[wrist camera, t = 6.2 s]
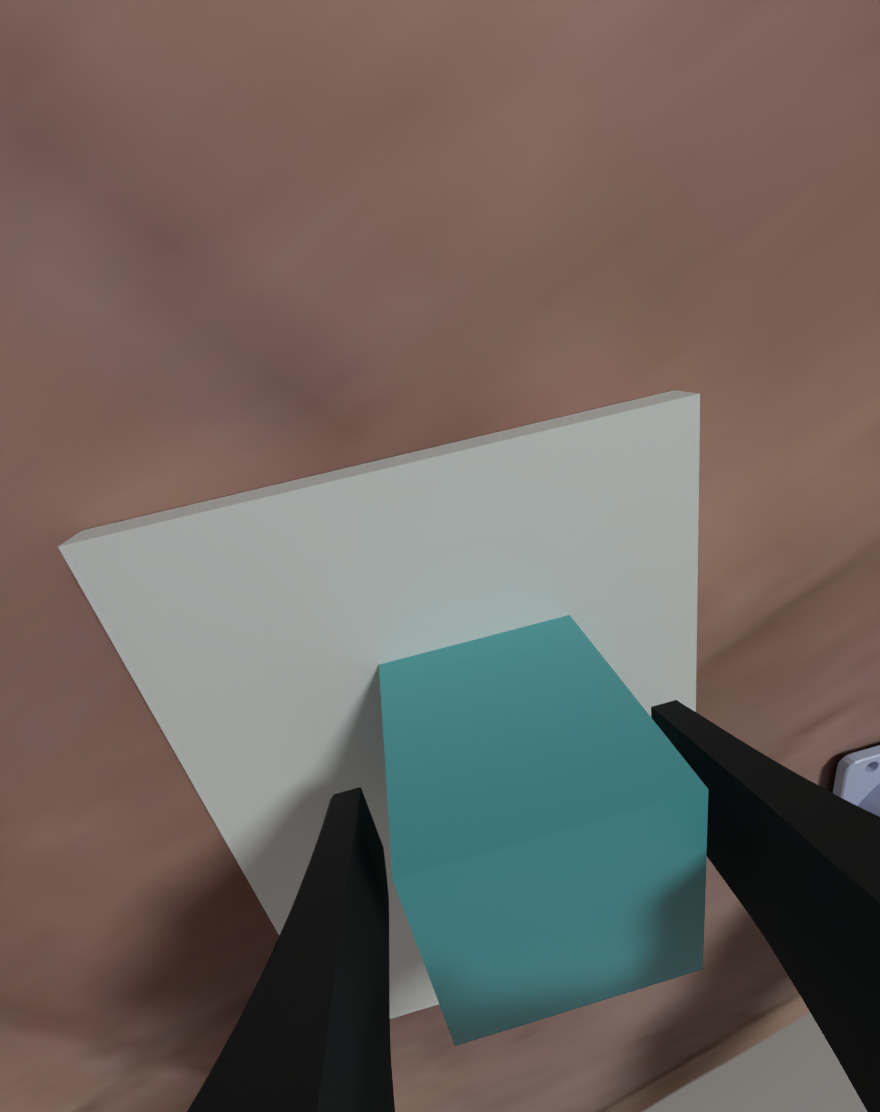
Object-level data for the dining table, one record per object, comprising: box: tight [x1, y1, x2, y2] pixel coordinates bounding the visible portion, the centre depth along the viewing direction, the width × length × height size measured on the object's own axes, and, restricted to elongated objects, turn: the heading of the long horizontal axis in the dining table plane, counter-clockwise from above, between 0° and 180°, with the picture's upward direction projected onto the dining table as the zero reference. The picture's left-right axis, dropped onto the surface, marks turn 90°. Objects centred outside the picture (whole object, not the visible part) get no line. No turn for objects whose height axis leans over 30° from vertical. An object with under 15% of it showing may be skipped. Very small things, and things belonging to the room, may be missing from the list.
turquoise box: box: [379, 615, 708, 1046], centre depth 11 cm, size 5×5×6 cm
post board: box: [58, 390, 700, 1019], centre depth 13 cm, size 14×20×5 cm
